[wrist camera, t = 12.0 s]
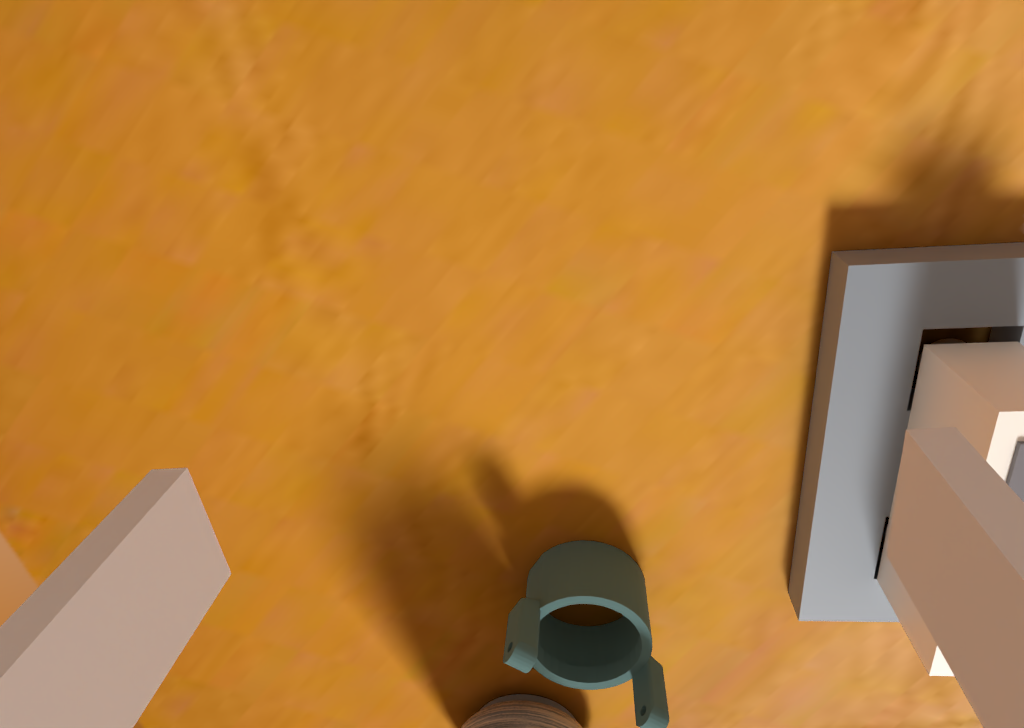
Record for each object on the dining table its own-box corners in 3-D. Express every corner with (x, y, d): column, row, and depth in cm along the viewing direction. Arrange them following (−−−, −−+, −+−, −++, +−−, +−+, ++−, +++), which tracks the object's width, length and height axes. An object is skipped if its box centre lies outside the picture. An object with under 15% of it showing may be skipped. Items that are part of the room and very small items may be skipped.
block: (907, 329, 37) (1002, 414, 28) (996, 326, 36) (1119, 412, 28) (864, 557, 44) (931, 679, 35) (938, 557, 43) (1024, 681, 35)
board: (831, 251, 36) (848, 265, 33) (1099, 238, 34) (1136, 252, 32) (788, 592, 46) (798, 620, 44) (992, 593, 44) (1014, 623, 42)
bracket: (512, 545, 47) (497, 651, 39) (646, 534, 45) (659, 643, 37) (533, 638, 50) (524, 752, 42) (658, 631, 49) (672, 748, 41)
